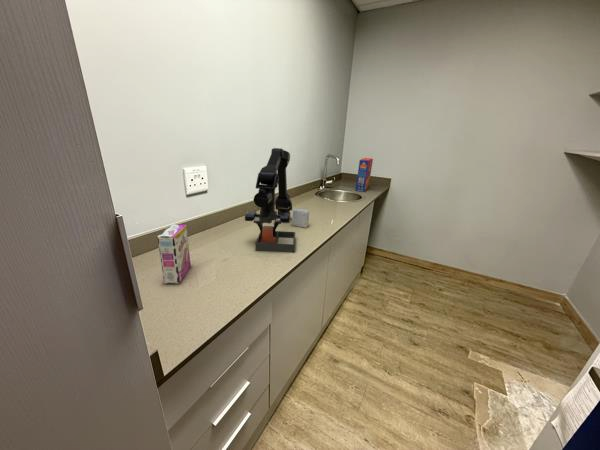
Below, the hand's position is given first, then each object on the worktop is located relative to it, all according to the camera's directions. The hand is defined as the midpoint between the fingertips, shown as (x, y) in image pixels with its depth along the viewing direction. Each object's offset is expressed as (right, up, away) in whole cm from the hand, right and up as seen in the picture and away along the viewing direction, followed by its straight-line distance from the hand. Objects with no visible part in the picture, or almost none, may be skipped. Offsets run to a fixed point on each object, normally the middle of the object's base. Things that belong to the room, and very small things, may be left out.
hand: (267, 235), depth 107 cm
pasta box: (+75, +40, +129) cm, 154 cm away
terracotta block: (0, -1, 0) cm, 1 cm away
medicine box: (+14, +4, +25) cm, 29 cm away
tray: (+4, -4, +1) cm, 6 cm away
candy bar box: (-27, -13, -25) cm, 39 cm away
